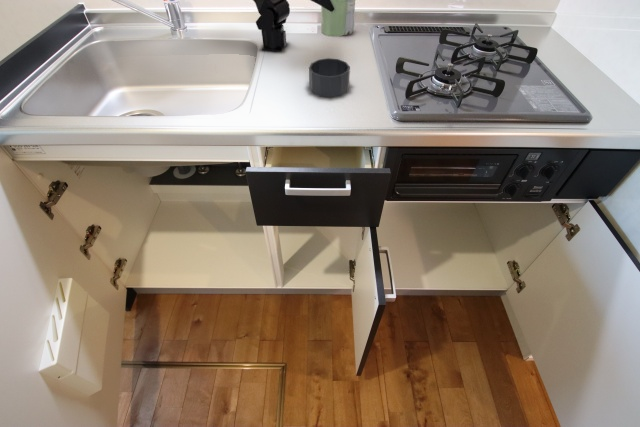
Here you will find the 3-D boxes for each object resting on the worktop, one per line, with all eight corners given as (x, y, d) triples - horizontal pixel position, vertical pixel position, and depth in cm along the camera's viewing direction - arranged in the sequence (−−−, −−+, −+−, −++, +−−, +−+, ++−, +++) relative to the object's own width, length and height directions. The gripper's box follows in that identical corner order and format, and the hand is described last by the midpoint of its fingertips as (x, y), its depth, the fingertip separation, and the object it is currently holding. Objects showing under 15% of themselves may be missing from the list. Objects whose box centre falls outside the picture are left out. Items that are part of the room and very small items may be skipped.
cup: (325, 38, 92) (326, -19, 82) (318, 28, 96) (318, -26, 86) (348, 35, 93) (352, -21, 84) (340, 26, 98) (343, -28, 88)
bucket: (306, 95, 87) (305, 74, 83) (314, 77, 94) (314, 57, 89) (345, 99, 86) (346, 78, 81) (350, 80, 92) (352, 60, 88)
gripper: (302, -72, 73) (345, -5, 78) (338, -84, 84) (374, -25, 89) (274, -32, 81) (315, 25, 86) (311, -48, 92) (345, 4, 97)
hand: (338, 6), depth 89 cm, fingers closed on cup, 7 cm apart
